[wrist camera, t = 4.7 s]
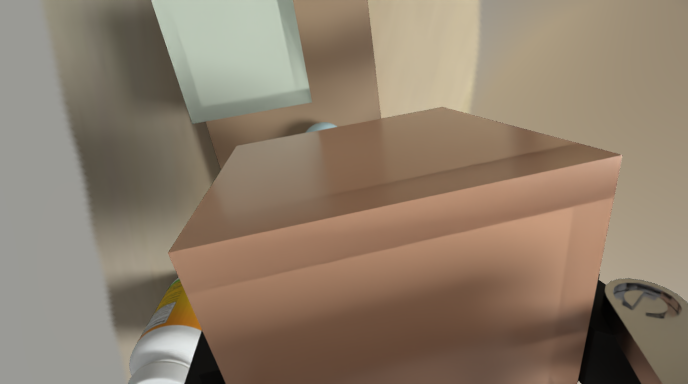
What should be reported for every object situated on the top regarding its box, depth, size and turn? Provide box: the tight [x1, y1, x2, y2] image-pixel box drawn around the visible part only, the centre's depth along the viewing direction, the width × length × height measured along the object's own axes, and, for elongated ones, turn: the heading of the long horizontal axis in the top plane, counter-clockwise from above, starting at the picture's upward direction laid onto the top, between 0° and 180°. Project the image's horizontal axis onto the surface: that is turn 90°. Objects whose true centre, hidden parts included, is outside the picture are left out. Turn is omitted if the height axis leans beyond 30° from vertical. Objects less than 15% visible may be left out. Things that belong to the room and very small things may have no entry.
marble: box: [305, 122, 337, 133], centre depth 22 cm, size 3×3×3 cm
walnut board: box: [206, 0, 381, 170], centre depth 21 cm, size 26×12×1 cm, turn 9°
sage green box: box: [151, 0, 312, 124], centre depth 18 cm, size 6×6×6 cm
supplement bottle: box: [128, 278, 202, 384], centre depth 23 cm, size 5×5×10 cm
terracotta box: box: [168, 107, 623, 384], centre depth 9 cm, size 9×7×6 cm
